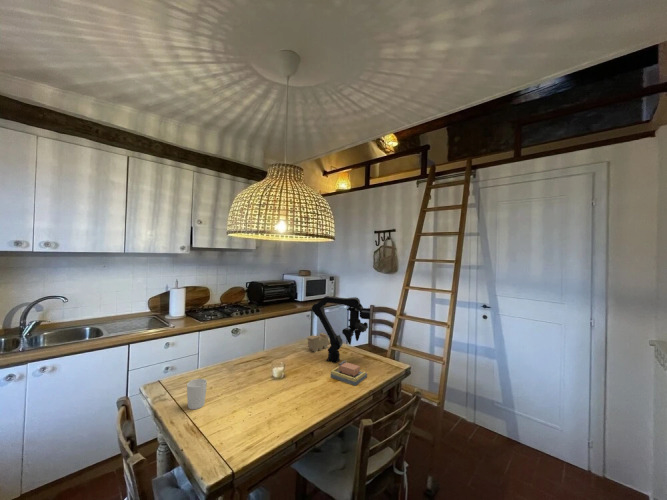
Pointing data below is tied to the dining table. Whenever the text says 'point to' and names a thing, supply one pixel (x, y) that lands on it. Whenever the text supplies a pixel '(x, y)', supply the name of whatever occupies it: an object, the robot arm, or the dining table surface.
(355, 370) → the pink panel on base
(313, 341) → the toy train
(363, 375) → the dock
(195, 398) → the white cup
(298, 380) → the dining table surface
